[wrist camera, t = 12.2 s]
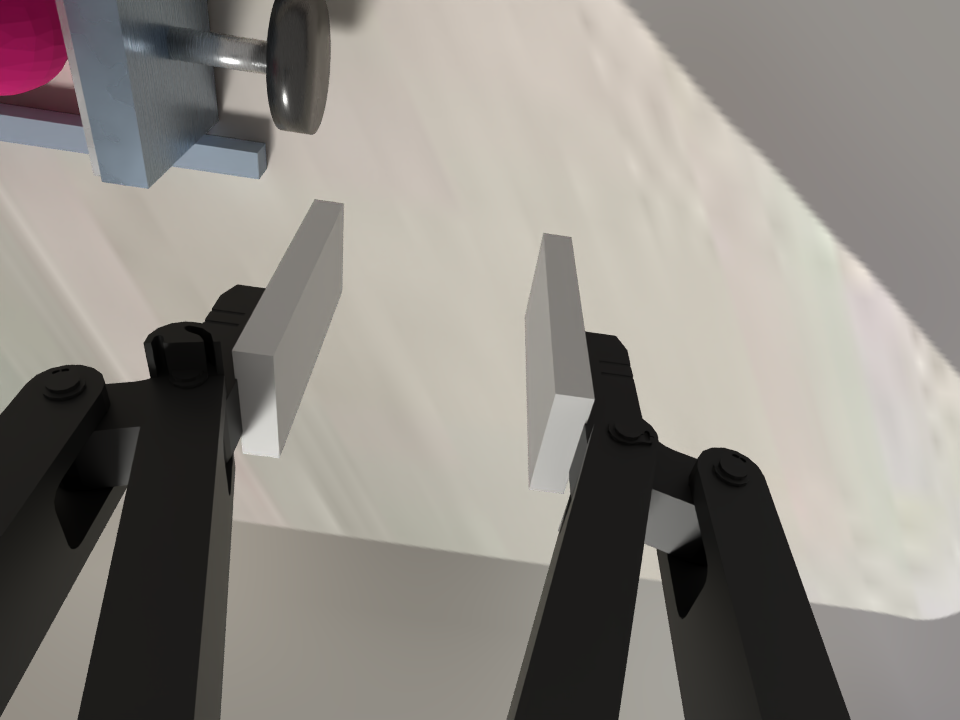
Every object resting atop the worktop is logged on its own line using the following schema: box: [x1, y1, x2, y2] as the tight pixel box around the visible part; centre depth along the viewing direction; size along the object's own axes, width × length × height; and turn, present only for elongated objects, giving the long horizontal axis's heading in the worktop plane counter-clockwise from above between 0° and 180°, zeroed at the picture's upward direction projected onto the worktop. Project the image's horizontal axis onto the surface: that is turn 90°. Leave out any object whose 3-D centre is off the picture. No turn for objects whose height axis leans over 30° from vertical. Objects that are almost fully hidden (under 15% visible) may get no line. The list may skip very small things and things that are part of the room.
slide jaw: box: [55, 0, 331, 189], centre depth 30 cm, size 9×10×9 cm
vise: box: [0, 103, 267, 179], centre depth 30 cm, size 20×15×9 cm
